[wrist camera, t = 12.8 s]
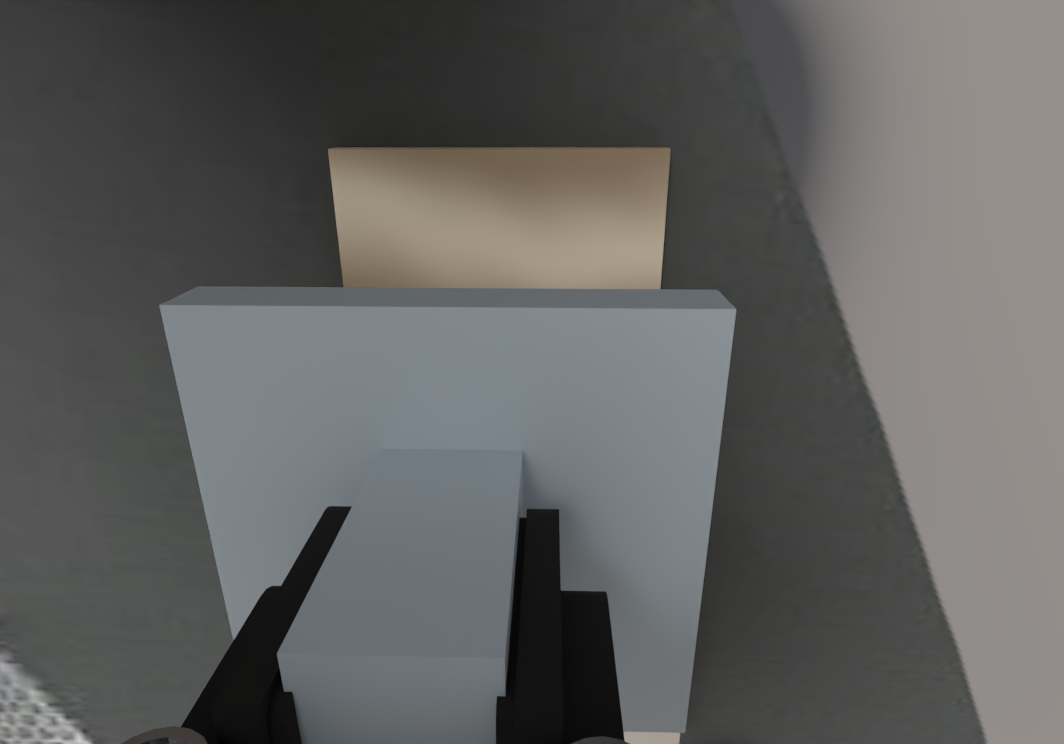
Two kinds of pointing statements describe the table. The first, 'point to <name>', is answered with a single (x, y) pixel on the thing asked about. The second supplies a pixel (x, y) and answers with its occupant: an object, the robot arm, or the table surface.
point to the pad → (500, 216)
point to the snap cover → (455, 482)
